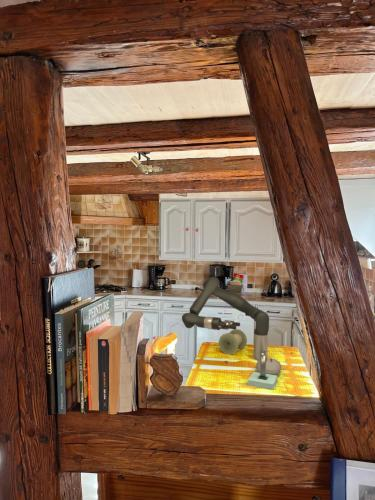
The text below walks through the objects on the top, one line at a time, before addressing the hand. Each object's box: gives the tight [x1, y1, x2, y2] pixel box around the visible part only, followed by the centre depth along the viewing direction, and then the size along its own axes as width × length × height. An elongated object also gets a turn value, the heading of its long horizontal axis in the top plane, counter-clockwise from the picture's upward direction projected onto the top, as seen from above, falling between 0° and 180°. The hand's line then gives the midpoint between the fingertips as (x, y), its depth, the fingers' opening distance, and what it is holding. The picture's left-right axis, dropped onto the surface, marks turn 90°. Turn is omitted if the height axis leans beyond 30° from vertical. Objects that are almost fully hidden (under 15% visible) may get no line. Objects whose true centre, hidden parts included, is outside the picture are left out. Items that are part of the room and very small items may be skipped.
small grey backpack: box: [255, 357, 282, 378], centre depth 207 cm, size 15×8×20 cm
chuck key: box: [260, 351, 266, 380], centre depth 191 cm, size 7×3×18 cm, turn 156°
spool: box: [218, 328, 248, 356], centre depth 249 cm, size 16×15×15 cm
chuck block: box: [247, 371, 278, 391], centre depth 191 cm, size 14×14×3 cm
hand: (238, 326), depth 201 cm, fingers open, 8 cm apart
